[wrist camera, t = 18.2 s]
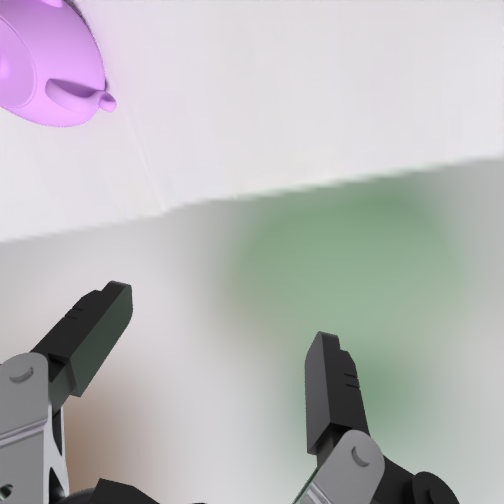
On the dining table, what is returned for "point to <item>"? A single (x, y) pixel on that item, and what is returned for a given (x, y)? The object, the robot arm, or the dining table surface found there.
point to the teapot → (49, 64)
